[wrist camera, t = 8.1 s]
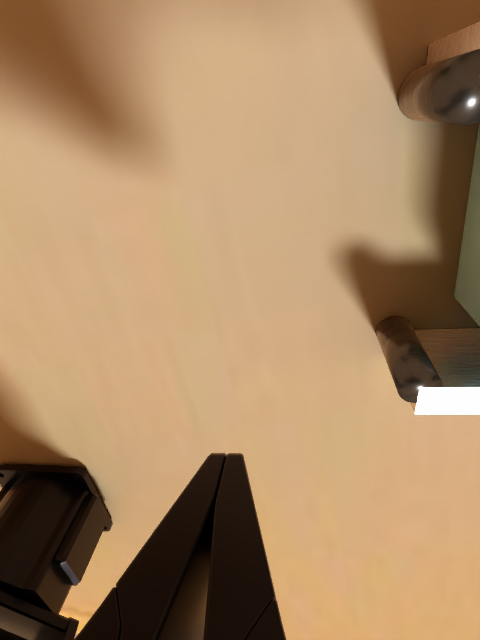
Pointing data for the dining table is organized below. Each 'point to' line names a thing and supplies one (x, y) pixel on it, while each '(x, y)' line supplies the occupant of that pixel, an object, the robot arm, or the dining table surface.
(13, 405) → the dining table surface
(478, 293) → the teal cube with ball
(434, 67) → the motor mount
